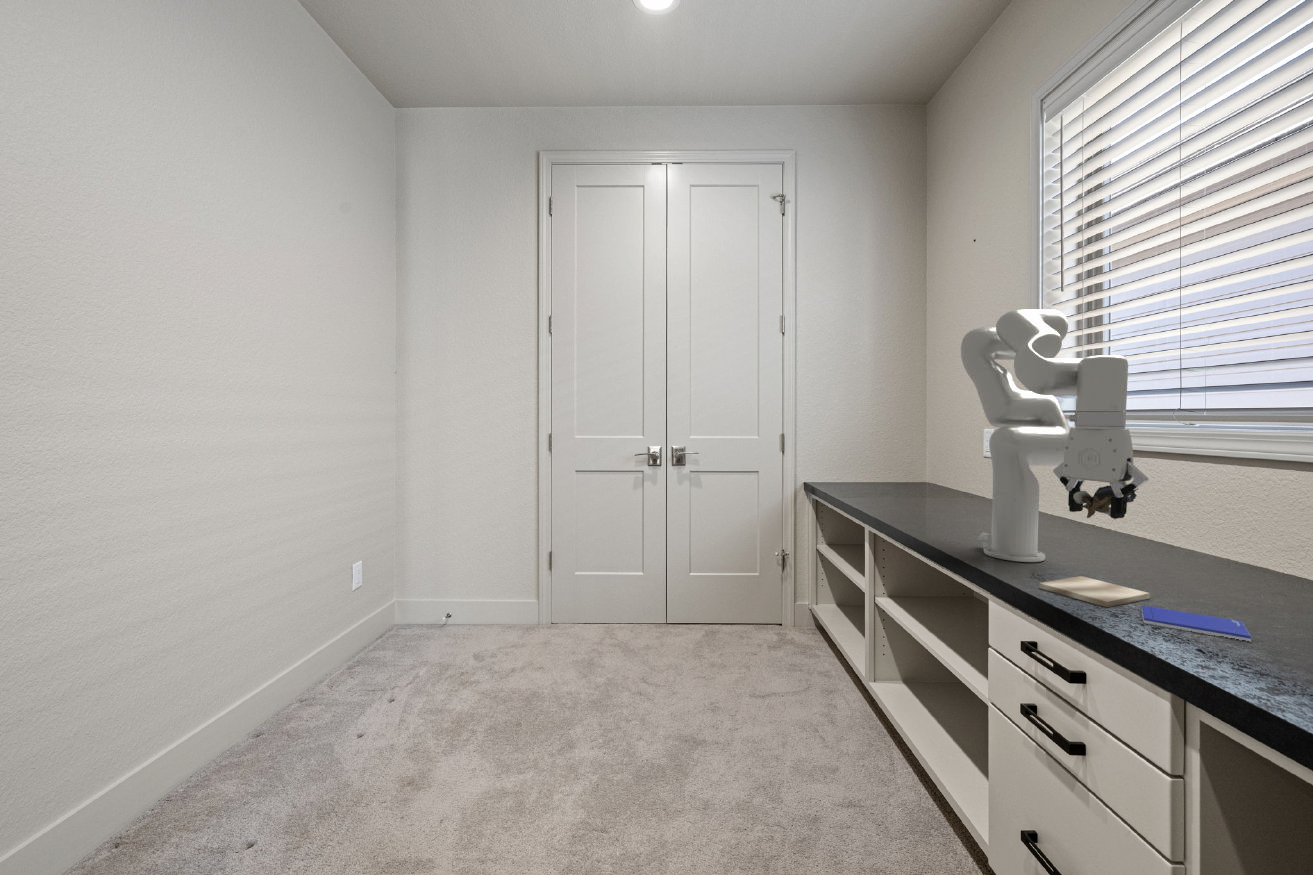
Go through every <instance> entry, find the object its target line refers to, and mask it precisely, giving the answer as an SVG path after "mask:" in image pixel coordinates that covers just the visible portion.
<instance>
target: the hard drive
mask: <svg viewBox="0 0 1313 875" xmlns="http://www.w3.org/2000/svg"><path fill="white" fill-rule="evenodd" d="M1140 607H1141V608H1140V612H1141V618H1142V621H1143V622H1144V623H1143V624H1146V625H1147V624H1148V625H1153V626H1159V627H1164V628H1170V629H1174V630H1180V629H1181V631H1186V632H1187V631H1188V632H1191V631H1192V633H1198V634H1202V633H1203V634H1204V635H1208V636H1209V635H1210V636H1214V635H1215V636H1214V637H1219V636H1224V637H1223V638H1225V637H1228V638H1227V639H1230V638H1235V639H1234V640H1236V639H1239V640H1238V641H1242V640H1246V641H1245V642H1247V641H1249V643H1252V635H1251V633H1250V632H1249V630H1248V629H1247V627H1246V626H1245V624H1244V623H1243V621H1242V620H1236V619H1229V618H1223V617H1217V616H1211V615H1206V614H1205V615H1204V614H1199V613H1193V612H1186V611H1179V610H1174V609H1173V610H1172V609H1166V608H1162V607H1155V606H1148V605H1141V606H1140Z"/></svg>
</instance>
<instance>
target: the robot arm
mask: <svg viewBox="0 0 1313 875" xmlns="http://www.w3.org/2000/svg"><path fill="white" fill-rule="evenodd" d="M1068 330H1069V322H1068V319H1067V317H1066V315H1064V313H1062V312H1061V311H1059V310H1058V309H1057V310H1056V309H1052V308H1051V309H1049V308H1047V309H1043V308H1042V309H1037V308H1035V309H1034V308H1033V309H1032V308H1031V309H1014V310H1011V311H1010V310H1009V311H1007V312H1006V313H1004V314H1002V315H1001V316H1000V317H999V318H998V320H997V321H996V324H995V326H986V327H985V326H984V327H978V328H974V329H972V330H969V331H968V332H966V333H965V335H964V337H963V338H962V340H961V345H960V357H961V362H962V365H963V367H964V370H965V373H966V374H968V376H969V379H971V382H973V384H974V386H975V389H976V391H977V395H978V398H979V401H980V404H981V406H982V409H983V413H984V415H985V418H986V419H987V421H988V423H989V424H990V425H991V426H993V427H995V428H997V429H996V430H994V431H993V432H992V433H991V435H990V438H989V441H988V442H989V443H988V445H989V453H990V458H991V460H990V461H991V464H992V465H991V466H992V501H991V502H992V503H991V504H992V505H991V506H992V507H991V533H987V532H981V533H980V535H979V536H978V537H977V540H978V541H979V542H985V543H986V546H985V547H984V548H983V553H984V554H985V555H987V556H989V557H992V558H995V559H999V560H1005V561H1009V562H1010V561H1012V562H1019V563H1039V562H1044V561H1045V560H1046V554H1045V553H1044V552H1042V551H1039V550H1038V548H1039V547H1038V542H1039V540H1038V539H1039V514H1040V513H1039V512H1040V511H1039V510H1040V508H1039V507H1040V483H1039V481H1038V479H1037V477H1036V475H1035V474H1034V472H1033V471H1032V470H1031V468H1030V467H1033V466H1036V467H1037V466H1043V467H1044V466H1047V467H1049V466H1052V467H1053V466H1056V467H1055V468H1054V469H1053V470H1052V472H1053V474H1054V475H1055V476H1056V477H1057V478H1058V479H1059V481H1060V483H1061V484H1062V485H1063V486H1064V487H1065V490H1066V491H1067V492H1068V498H1067V499H1068V501H1067V502H1068V503H1067V504H1068V507H1069V508H1068V511H1069V512H1071V513H1076V512H1082V511H1084V510H1083V509H1084V507H1081V506H1082V505H1084V503H1082V504H1079V503H1076V502H1075V500H1074V498H1073V497H1074V494H1075V493H1077V492H1080V491H1081V489H1082V487H1083V485H1084V483H1085V481H1090V482H1091V481H1092V482H1100V483H1109V486H1110V485H1111V487H1112V490H1113V492H1114V494H1115V497H1112V498H1111V504H1110V508H1111V511H1110V516H1109V517H1110V518H1111V519H1114V520H1117V519H1124V518H1125V515H1126V514H1127V512H1128V511H1127V509H1128V503H1127V497H1129V496H1130V495H1131V494H1132V493H1133V492H1135V493H1136V492H1137V491H1138V490H1139V489H1140V487H1141V488H1142V486H1144V485H1145V484H1146V483H1147V482H1148V481H1149V479H1150V478H1149V477H1147V475H1145V474H1144V473H1143V472H1142V471H1141V470H1140V469H1139V468H1138V467H1136V465H1135V464H1134V449H1133V440H1132V436H1131V431H1130V429H1129V428H1126V421H1127V420H1126V419H1127V399H1128V380H1129V379H1128V376H1129V362H1128V359H1127V358H1126V357H1124V356H1122V355H1116V354H1115V355H1113V354H1112V355H1109V354H1108V355H1094V356H1093V355H1091V356H1086V357H1083V358H1075V357H1073V358H1071V357H1070V358H1069V357H1068V358H1065V357H1064V358H1062V357H1060V358H1059V357H1058V358H1057V357H1056V356H1057V355H1058V354H1059V352H1060V351H1061V349H1062V346H1063V340H1065V338H1066V336H1067V334H1068ZM996 360H1007V361H1008V360H1013V362H1014V363H1013V370H1014V374H1015V377H1016V379H1017V380H1018V382H1020V383H1021V384H1022V385H1023V386H1024V387H1025V388H1026V389H1027V390H1025V389H1020V388H1018V386H1017V385H1016V383H1015V379H1014V377H1013V375H1012V374H1011V372H1009V371H1008V370H1007V368H1006V367H1004V366H1003V365H1001V364H1000V363H998V362H997V361H996ZM1056 396H1073V397H1075V396H1076V399H1075V400H1076V402H1075V412H1074V414H1070V415H1069V418H1068V419H1069V421H1070V422H1073V423H1074V425H1075V427H1070V425H1069V422H1068V420H1067V418H1066V416H1065V413H1064V411H1063V408H1062V407H1061V404H1060V402H1059V401H1058V399H1057V398H1056ZM1132 479H1133V480H1132ZM1131 480H1132V481H1131ZM1129 481H1131V482H1129ZM1127 482H1129V483H1127Z"/></svg>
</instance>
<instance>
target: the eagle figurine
mask: <svg viewBox="0 0 1313 875" xmlns="http://www.w3.org/2000/svg"><path fill="white" fill-rule="evenodd" d="M1137 495H1138V494H1136V491H1135V492H1133V493H1132V494H1131V495H1130V496H1129V497H1127V504H1128V503H1133V502H1134V500H1135V499H1136V498H1137ZM1112 497H1115V494H1114V492H1113V490H1112V487H1111V485H1110V484H1109V485H1106V486H1099V487H1098V488H1097V490H1096V491H1095V492H1094V493H1093V496H1092V495H1091V494H1090V493H1088V491H1086V490H1080V492H1077V493H1075V494H1074V497H1073V498H1074V500H1075V502H1076V503H1079V504H1082V503H1083V505H1082V506H1081V507H1083V509H1084V508H1085V509H1086V510H1087V515H1086V519H1089V518H1091V517H1092V516H1094V515H1095V514H1096V512H1098V513H1100V514H1101V513H1102V514H1105V515H1107V516H1109V517H1110V511H1111V498H1112Z"/></svg>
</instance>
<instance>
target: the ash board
mask: <svg viewBox="0 0 1313 875" xmlns="http://www.w3.org/2000/svg"><path fill="white" fill-rule="evenodd" d="M1038 588H1039V589H1040V590H1041V589H1042V590H1045V591H1048V592H1052V593H1056V594H1058V595H1063V596H1065V597H1070V598H1072V599H1077V600H1079V601H1084V602H1086V603H1090V604H1094V605H1097V606H1101V607H1105V608H1109V607H1110V608H1111V607H1114V606H1116V607H1117V606H1119V605H1123V604H1129V603H1135V602H1140V601H1144V600H1148V599H1150V597H1151V593H1150V592H1147V591H1143V590H1139V589H1134V588H1130V587H1127V586H1123V585H1118V584H1114V583H1110V582H1107V581H1103V580H1098V579H1094V578H1091V577H1086V576H1082V575H1079V576H1074V577H1068V578H1061V579H1055V580H1048V581H1044V582H1039V583H1038Z"/></svg>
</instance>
